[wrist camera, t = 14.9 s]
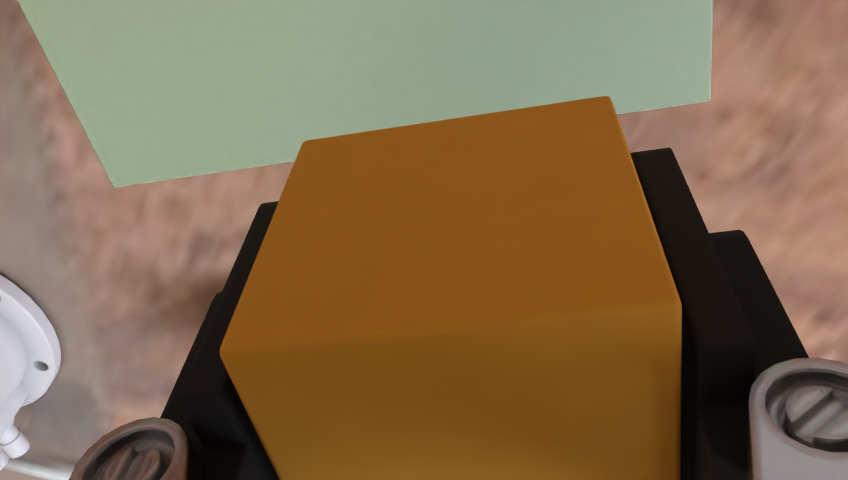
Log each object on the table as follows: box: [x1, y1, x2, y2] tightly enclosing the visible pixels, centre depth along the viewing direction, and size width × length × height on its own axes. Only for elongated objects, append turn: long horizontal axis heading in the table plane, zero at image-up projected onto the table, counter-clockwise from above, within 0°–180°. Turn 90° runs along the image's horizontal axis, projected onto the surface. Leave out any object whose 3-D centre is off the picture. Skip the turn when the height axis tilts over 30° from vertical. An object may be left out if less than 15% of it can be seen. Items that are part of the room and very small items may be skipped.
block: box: [220, 96, 682, 480], centre depth 10 cm, size 4×4×4 cm
